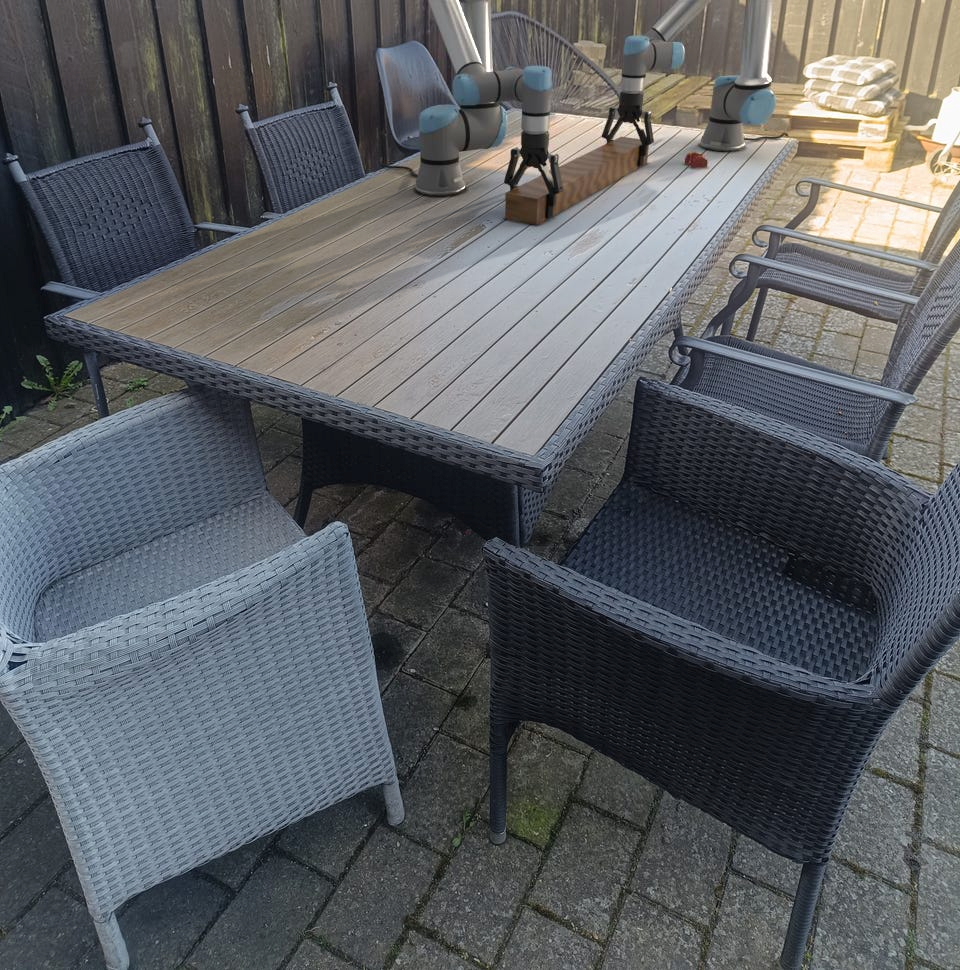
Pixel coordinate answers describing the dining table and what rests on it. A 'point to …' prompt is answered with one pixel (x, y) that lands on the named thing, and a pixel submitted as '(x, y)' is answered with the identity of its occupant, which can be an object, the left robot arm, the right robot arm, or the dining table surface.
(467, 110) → the left robot arm
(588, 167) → the thick board
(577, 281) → the dining table surface
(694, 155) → the dark red rounded lump
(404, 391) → the dining table surface
